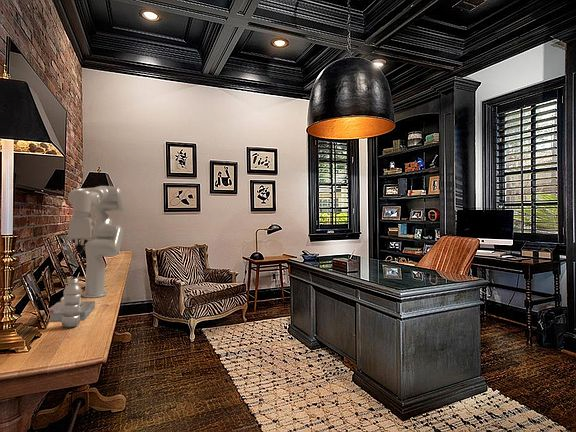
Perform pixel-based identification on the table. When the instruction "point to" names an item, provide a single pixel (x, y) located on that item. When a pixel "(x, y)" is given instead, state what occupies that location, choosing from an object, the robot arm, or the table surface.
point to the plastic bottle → (71, 303)
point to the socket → (84, 310)
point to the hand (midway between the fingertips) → (79, 253)
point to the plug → (63, 303)
